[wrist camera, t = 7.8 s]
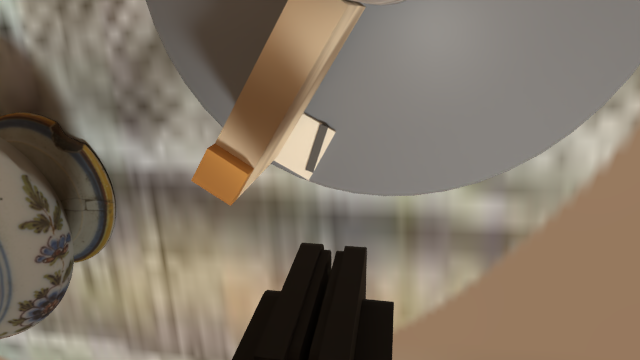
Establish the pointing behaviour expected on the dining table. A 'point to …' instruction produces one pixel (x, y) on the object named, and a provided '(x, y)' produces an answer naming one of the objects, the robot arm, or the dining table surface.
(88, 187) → the apothecary jar
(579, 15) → the dial base
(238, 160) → the tan knob handle
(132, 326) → the dining table surface
